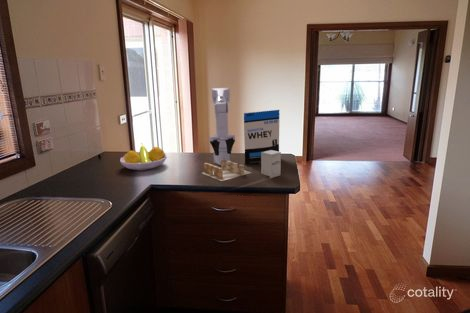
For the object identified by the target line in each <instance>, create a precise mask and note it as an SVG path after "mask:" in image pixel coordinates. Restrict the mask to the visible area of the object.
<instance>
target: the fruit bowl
mask: <svg viewBox="0 0 470 313" xmlns="http://www.w3.org/2000/svg"><path fill="white" fill-rule="evenodd" d="M140 144H141V146H140V149H139V152H137V151H136V150H129V151H127V153H125V154H123V156H122V157H120V161H119V162H120V164H121V165H122V166H124V167H125V168H127V169H129V170H136V171H141V172H142V171H147V170H151V169H156V168H157V167H160V166H161V165H163V164H164V162H165V161H166V160H167V158H168V156H167V154H166V153H165V152H164V150H163V149H162V148H160V147H159V146H154V147H152V149H150V151H148V150H147V148H146V147H145V145H144V143H143V142H142V143H140Z"/></svg>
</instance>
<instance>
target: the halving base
mask: <svg viewBox="0 0 470 313" xmlns="http://www.w3.org/2000/svg"><path fill="white" fill-rule="evenodd" d="M220 167H221V168H222V169H223V178H218V177H216V176H214V171H213V174H211V175H210V174H208V173H205V171H203V172H201V174H203V175H205V176H206V177H210V178H212V179H215V180H217V181H220V182H224V181H226V180H228V181H229V180H232V179H234V178H237V177H242V176H245V175H248V174H252V173H253V172H251V171H248V170H245V164H239V165H238V163H237V162H234V161H231V160H230V161H227V164H226V160H225V159H221V165H220Z"/></svg>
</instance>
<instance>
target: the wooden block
mask: <svg viewBox="0 0 470 313" xmlns="http://www.w3.org/2000/svg"><path fill="white" fill-rule="evenodd" d="M203 166H204V172H205V173H208V174H210V175H211V174H213V171H214V176H216V177H218V178H223V169H222V168H221V166H219V165H215V164H211V163H208V162H204V164H203Z"/></svg>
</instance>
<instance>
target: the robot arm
mask: <svg viewBox="0 0 470 313" xmlns="http://www.w3.org/2000/svg"><path fill="white" fill-rule="evenodd" d="M230 95H231V93H230V88H229V87H216V88H215V87H212V88H211V99H212V102H213V104H214V114H215V128H216V129H215V130H216V135H214V136H209V137H208V138H209V139H208V140H209V144H210V145H211V148H212V149H213V163H214V164H216V165H217V166H221V159H225V160H226V164H227V161H231V160H230V155H231V154H232V150H233V147H234V144H235V143H236V135H235V134H229V123H228V122H229V120H228V116H229V115H228V114H229V103H230V101H231V100H230V98H231V96H230Z"/></svg>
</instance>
